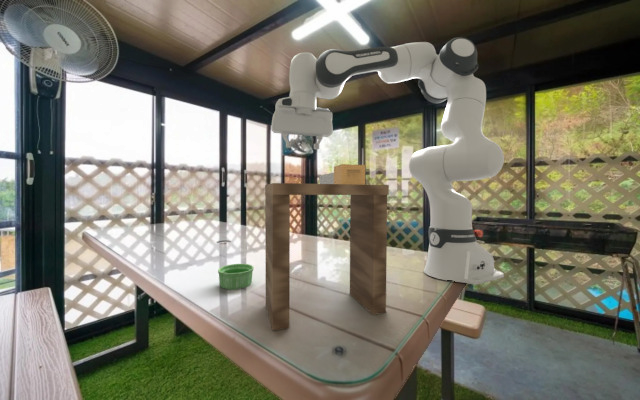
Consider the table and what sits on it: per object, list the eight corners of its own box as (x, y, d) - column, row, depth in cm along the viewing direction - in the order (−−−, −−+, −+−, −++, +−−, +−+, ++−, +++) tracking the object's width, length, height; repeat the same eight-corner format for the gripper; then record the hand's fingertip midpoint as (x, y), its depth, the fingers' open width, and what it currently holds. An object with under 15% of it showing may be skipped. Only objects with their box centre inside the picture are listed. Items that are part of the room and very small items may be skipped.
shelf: (359, 291, 63) (360, 186, 63) (387, 313, 52) (388, 185, 51) (265, 304, 56) (265, 185, 56) (273, 332, 45) (273, 183, 44)
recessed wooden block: (333, 187, 71) (333, 172, 71) (365, 184, 52) (365, 165, 52) (316, 187, 70) (316, 172, 70) (341, 184, 50) (341, 164, 50)
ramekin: (223, 293, 62) (223, 275, 62) (214, 283, 70) (214, 267, 69) (258, 285, 68) (258, 269, 67) (246, 276, 75) (246, 261, 75)
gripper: (329, 112, 91) (329, 151, 91) (270, 105, 84) (270, 148, 84) (335, 106, 85) (335, 148, 85) (273, 99, 78) (273, 144, 78)
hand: (302, 148), depth 85 cm, fingers open, 8 cm apart
